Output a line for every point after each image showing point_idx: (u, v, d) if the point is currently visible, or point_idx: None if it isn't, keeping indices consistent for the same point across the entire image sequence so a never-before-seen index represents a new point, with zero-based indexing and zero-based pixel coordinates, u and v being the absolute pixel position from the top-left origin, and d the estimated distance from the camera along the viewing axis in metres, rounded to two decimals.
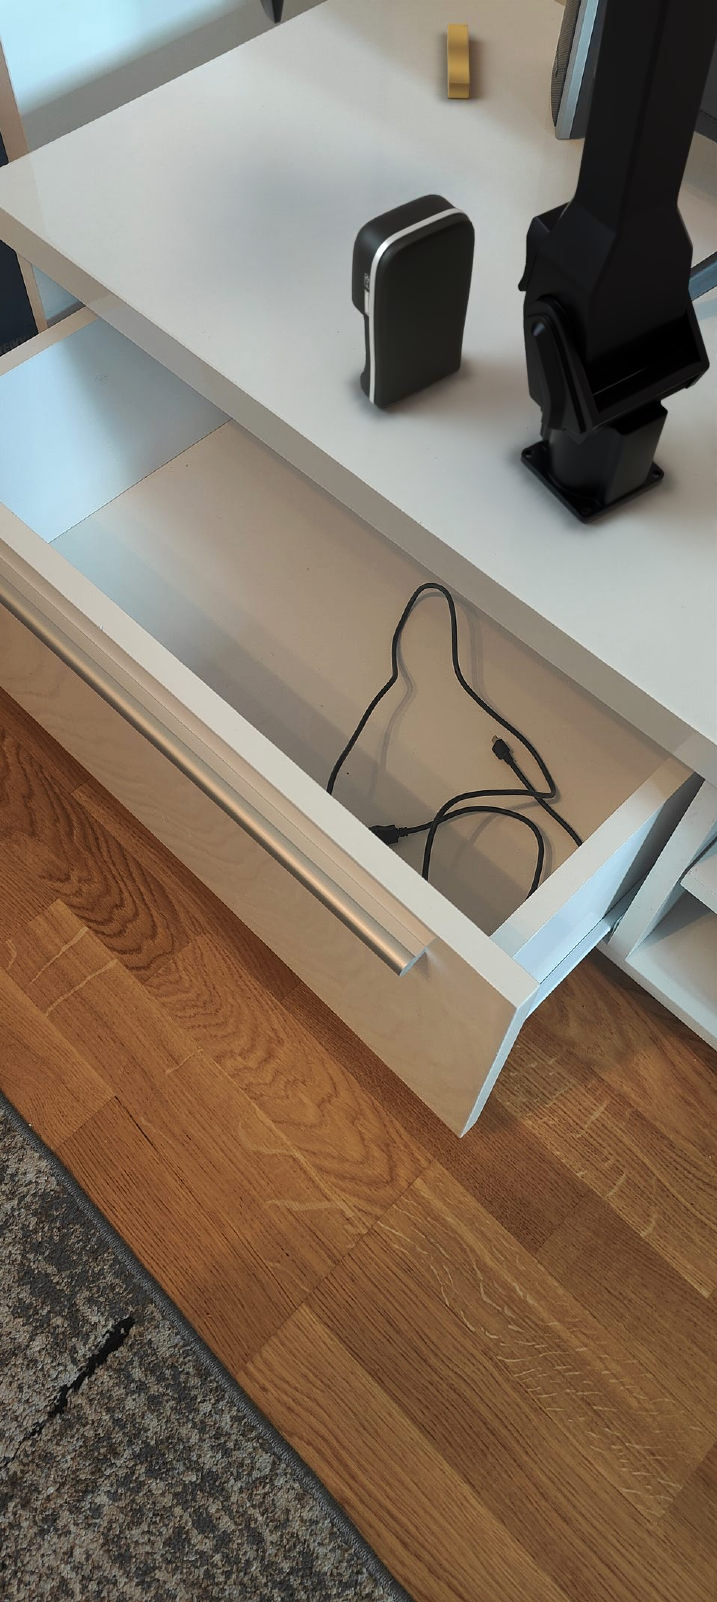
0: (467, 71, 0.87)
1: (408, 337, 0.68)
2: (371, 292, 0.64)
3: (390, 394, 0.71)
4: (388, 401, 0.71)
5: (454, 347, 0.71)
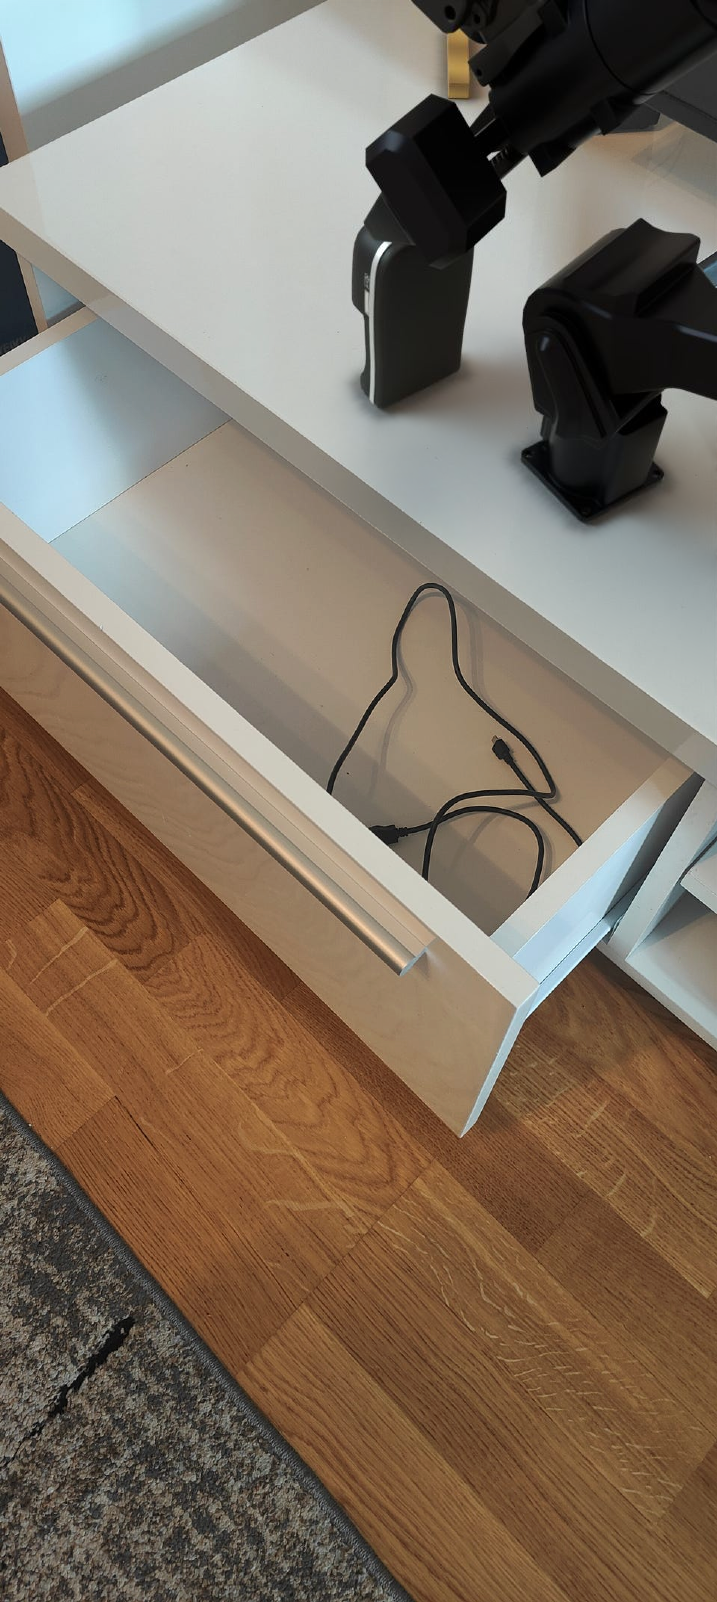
0: (467, 71, 0.87)
1: (408, 337, 0.68)
2: (371, 292, 0.64)
3: (390, 394, 0.71)
4: (388, 401, 0.71)
5: (454, 347, 0.71)
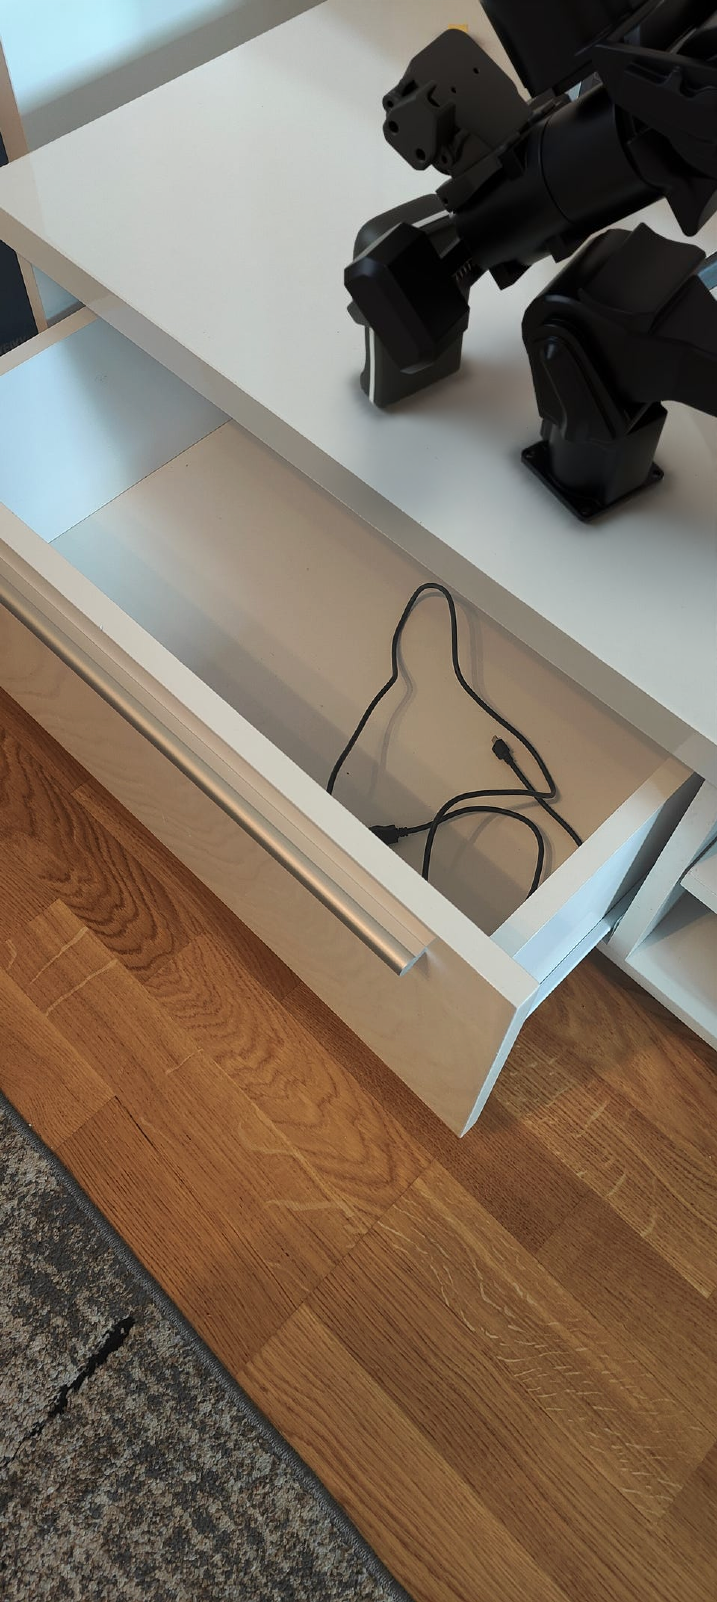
0: None
1: None
2: None
3: (390, 393, 0.71)
4: (388, 400, 0.71)
5: (454, 347, 0.71)
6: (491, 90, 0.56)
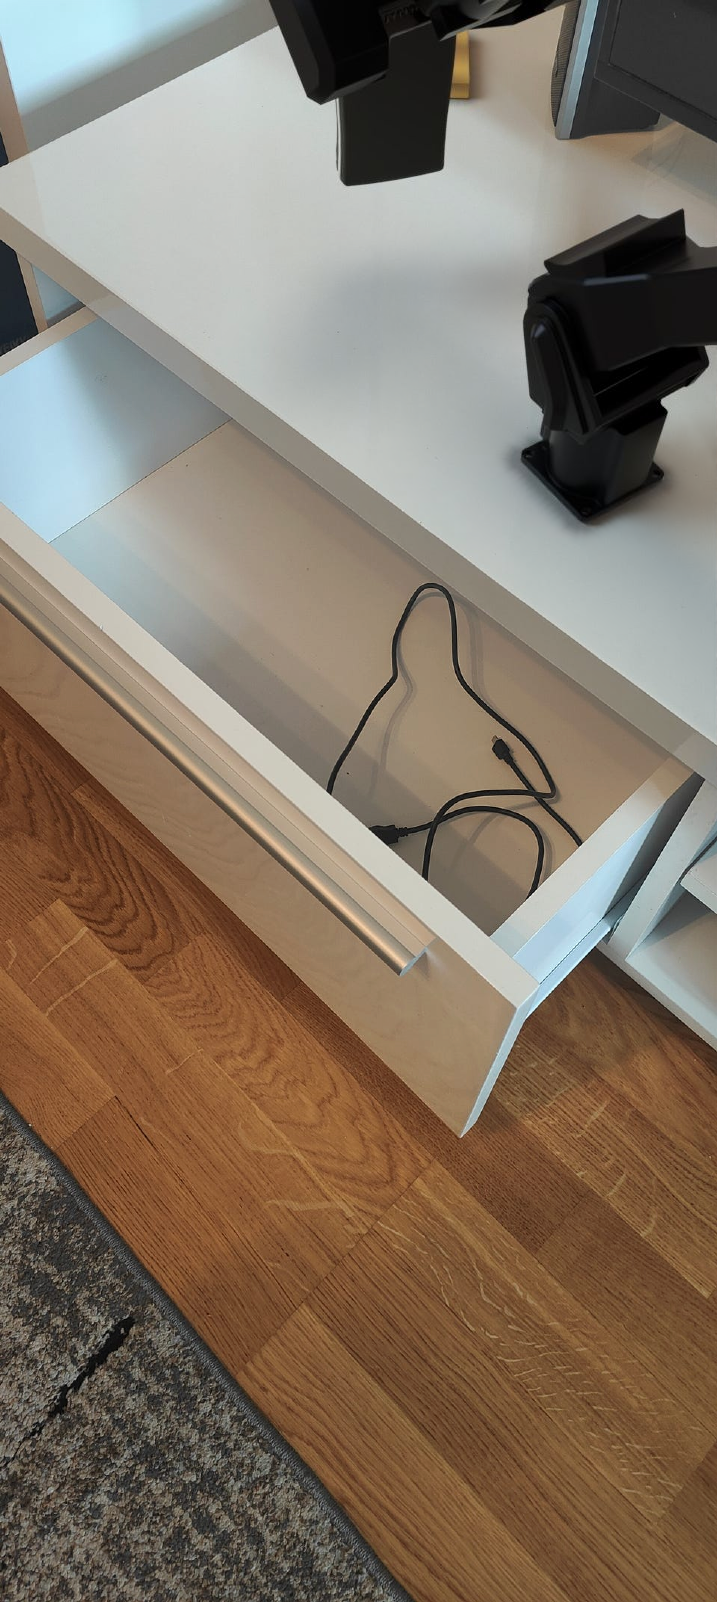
0: (467, 71, 0.87)
1: (376, 105, 0.65)
2: None
3: (355, 170, 0.68)
4: (353, 178, 0.69)
5: (434, 138, 0.68)
6: None
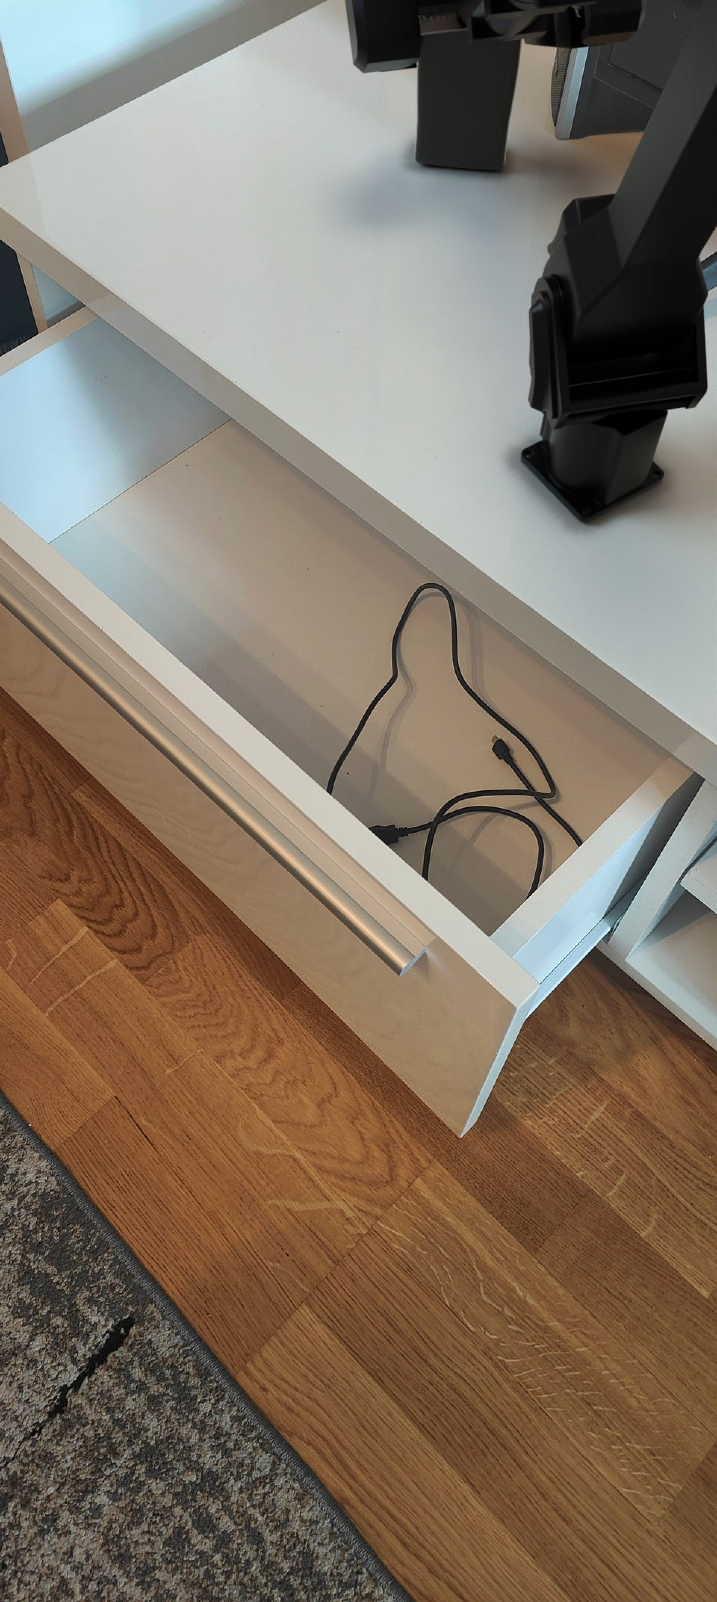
0: None
1: (445, 100, 0.79)
2: None
3: (425, 151, 0.82)
4: (423, 157, 0.83)
5: (494, 140, 0.81)
6: None
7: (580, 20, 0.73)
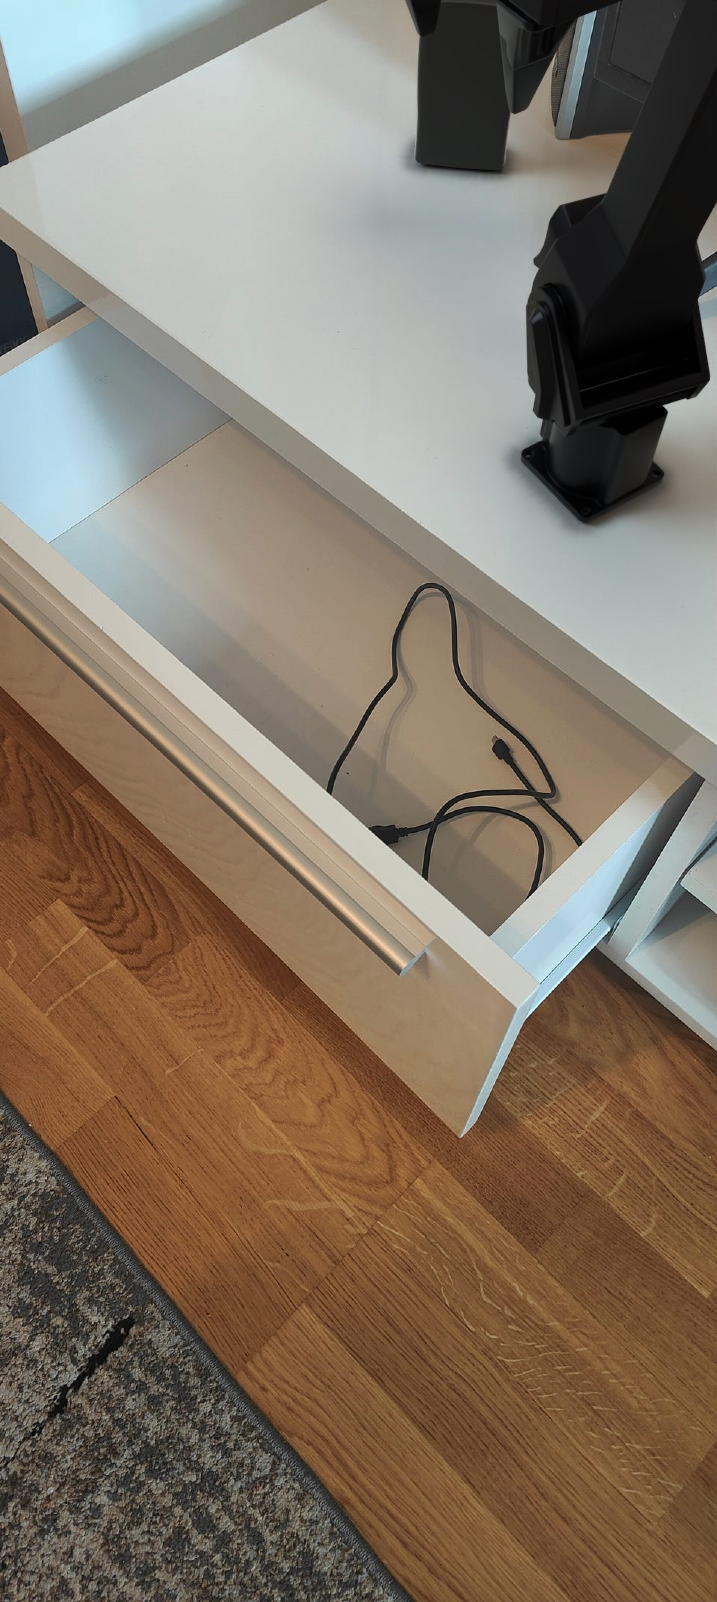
0: None
1: (445, 100, 0.79)
2: None
3: (425, 151, 0.82)
4: (423, 157, 0.83)
5: (494, 140, 0.81)
6: None
7: None
